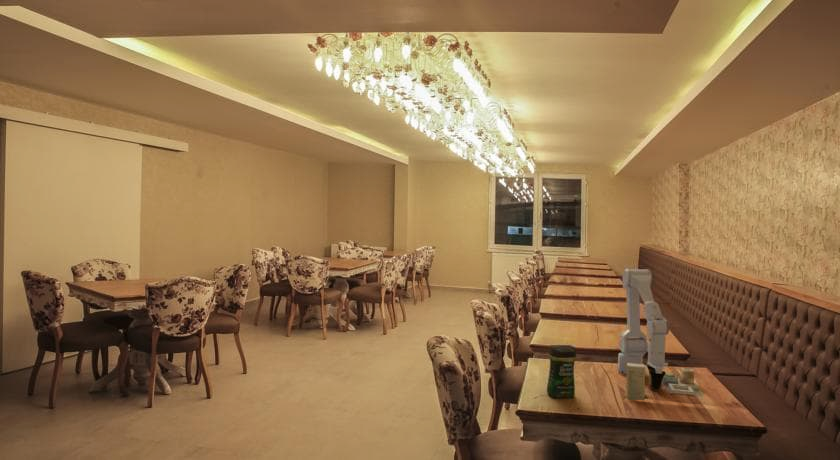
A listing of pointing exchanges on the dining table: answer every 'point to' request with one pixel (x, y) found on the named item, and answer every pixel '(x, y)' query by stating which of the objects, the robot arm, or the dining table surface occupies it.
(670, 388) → the grey compartment tray
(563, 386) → the coffee jar
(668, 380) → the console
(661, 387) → the walnut block
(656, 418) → the dining table surface
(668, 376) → the button
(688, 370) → the beech block
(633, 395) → the skincare box
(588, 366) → the dining table surface
